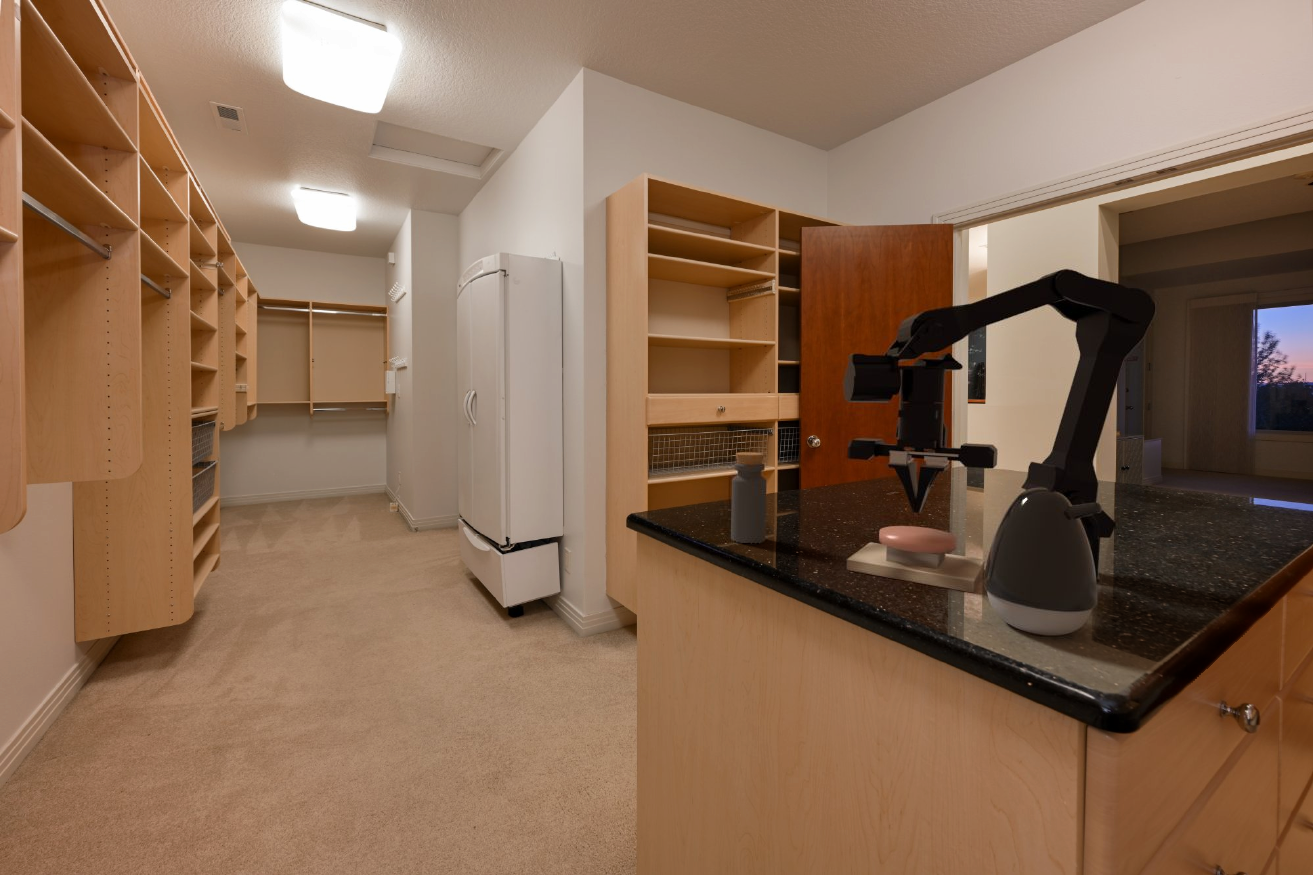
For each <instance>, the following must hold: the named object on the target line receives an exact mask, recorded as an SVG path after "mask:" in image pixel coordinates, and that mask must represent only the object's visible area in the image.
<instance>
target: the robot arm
mask: <svg viewBox="0 0 1313 875" xmlns="http://www.w3.org/2000/svg"><path fill="white" fill-rule="evenodd" d="M1046 305H1047V306H1049V307H1051V308H1053V309H1054V310H1055V311H1056V312H1057V313H1059V315H1061V317H1063V318H1064V319H1066V320H1069V321H1071V322H1073V323H1075V324H1076V326H1075V332H1074V333H1075V335H1074V337H1075V339H1076V343H1077V347H1078V351H1079V358H1078V362H1077V365H1076V369H1075V373H1074V376H1073V380H1072V383H1071V386H1070V390H1069V392H1068V396H1067V399H1066V403H1065V406H1064V409H1063V413H1062V416H1061V419H1060V423H1059V426H1058V430H1057V432H1056V436H1055V439H1054V443H1053V446H1052V448H1051V452H1050V454H1048V456H1047V457H1046V458H1045V459H1044V460H1043V461H1042V463H1040V462H1035V461H1031V462H1030V463H1029V465H1028V468H1027V476H1026V479H1025V481H1024V483H1023V484H1022V486H1021V489H1023V490H1024V491H1026V490H1029V489H1033V488H1049V489H1052V490H1055V491H1057V492H1059V493H1061V494H1063V495H1064V496H1065V497H1066V498H1067V499H1068V500H1069V501H1070V503H1071V504H1072V506H1073V505H1080V504H1088V503H1095V502H1097V501H1098V493H1099V481H1098V477H1097V473H1096V470H1095V466H1094V459H1095V456H1096V452H1097V449H1098V446H1099V443H1100V442H1099V441H1100V439H1101V437H1102V432H1103V430H1104V426H1105V423H1106V419H1107V416H1108V413H1109V410H1110V407H1111V404H1112V399H1113V396H1114V393H1115V390H1116V387H1117V384H1118V380H1119V378H1120V374H1121V370H1122V367H1123V365H1124V364H1123V363H1124V361H1125V359H1126V358H1127V356H1128V355H1130V354H1131V353H1132V352H1133V350H1134V349H1135V348H1136V347H1137V346H1138V345H1139V344H1140V343H1141V342H1142V341H1143V340H1144V338H1145V336H1146V335H1147V332H1148V330H1149V328H1150V326H1151V324H1152V322H1153V320H1154V319H1155V316H1156V312H1157V303H1156V301H1154V300H1153V298H1152V297H1151V295H1150V294H1149V293H1148V292H1146V291H1145V290H1143V289H1141V288H1136V287H1135V288H1134V287H1126V286H1124V285H1122V284H1120V283H1117V282H1115V281H1113V282H1112V281H1110V280H1104V279H1100V278H1095V277H1092V276H1088V275H1086V274H1083V273H1081V272H1080V271H1077V270H1074V269H1069V268H1065V269H1060V270H1056V271H1055V272H1054V271H1053V272H1051V273H1048V274H1045V275H1043V276H1041V277H1040V278H1039V279H1037V280H1034V281H1030V282H1028V283H1025V284H1023V285H1019V286H1017V287H1014V288H1012V289H1008V290H1005V291H1002V292H1000V293H997V294H994V295H992V296H989V297H986V298H983V299H982V298H981V299H979V300H978V301H974V302H972V303H971V302H970V303H966V304H965V303H964V304H960V305H959V304H958V305H951V306H946V307H939V308H933V309H929V310H926V311H922V312H920V313H917V314H913V315H911V316H910V317H907V318H905V319H904V320H902V322H901V323H900V325H899V327H898V329H897V335H896V339H895V340H894V341H893V343H892V344H891V345H890V347H889V348H888V349H887V350H886V351H885V352H884V354H865V353H851V354H850V355H849V356H848V363H847V367H846V369H845V376H844V377H843V384H842V386H843V389H842V390H843V395H844V396H843V397H844V399H845V401H846V402H847V403H890V402H891V401H892V399H893V397H894V396H898V394H899V402H898V404H899V406H898V411H897V417H898V420H897V424H896V430H895V438H896V444H893V443H892V444H890V443H889V444H888V443H885V441H884V440H885V439H883V438H868V437H867V438H864V437H859V438H855V439H851V441H849V442H848V444H847V449H846V452H847V453H846V455H847V456H846V457H847V458H846V459H850V460H861V461H863V460H864V461H868V460H870V459H872V458H873V457H876V458H877V457H878V458H879V457H889V463H887V468H888V469H889V468H890V469H894V470H895V473H896V474H897V476H898V478H899V480H900V482H901V484H902V487H903V489H904V491H905V494H906V497H907V499H908V502H909V505H910V508H911V511H912V512H913V513H914V514H920V513H921V511H922V509H923V507H924V504H925V502H926V500H927V496H928V495H929V492H930V490H931V488H932V485H933V483H934V482H935V479H936V478H937V476H939V473H940V472H945V471H947V470H949V469H950V466H951V464H950V463H949V462H950V461H954V462H960V463H961V464H962V465H963V466H964V468H974V469H975V468H977V469H995V467H997V465H998V448H997V447H996V446H995V445H994V444H986V443H966V442H965V443H963V444H961V445H960V447H948V446H947V445H948V444H947V442H948V435H949V434H948V432H949V429H948V428H947V425H946V423H945V420H944V416H945V414H944V413H945V394H946V393H945V392H946V391H945V389H946V388H945V387H946V372H949V371H950V372H951V371H960V370H962V369H963V367H964V366H963V364H961V363H960V362H959V361H958V360H957V359H955V358H954V356H952V353H950V352H947V353H943V354H941V355H940V356H939V357H938V358H919V357H921V356H922V355H927V354H933V353H938V352H941V351H943V350H946V349H947V348H949V347H950V346H952V345H954V344H956V343H958V342H961V341H962V340H963V339H965V338H966V337H968V336H970V335H971V334H973V333H974V332H976V331H977V330H979V329H981V328H984V327H986V326H990V325H992V324H995V323H998V322H1001V321H1004V320H1007V319H1010V318H1013V317H1016V316H1019V315H1021V314H1024V313H1027V312H1029V311H1032V310H1036V309H1039V308H1041V307H1044V306H1046ZM910 360H911V361H912V360H915V362H914V363H913V365H899V362H905V361H910ZM907 448H908V449H907ZM909 448H910V449H909ZM915 459H920V460H921V459H923V460H924V462H925V464H923V465H921V466H920V467H919V475H918V476H917V470H918V461H914V460H915ZM1097 503H1098V502H1097ZM1080 520H1081V522H1082V525H1083V527H1084V530H1085V532H1086V535H1087V538H1088V541H1089V544H1090V548H1091V552H1092V556H1093V561H1094V566H1095V573H1096V582H1097V583H1100V580H1101V579H1100V574H1099V566H1100V548H1101V539H1104V538H1105V539H1106V538H1107V539H1109V538H1110V539H1111V537H1112V534H1113V533H1114V530H1115V528H1116V526H1117V524H1116V522H1115V521H1114V519H1113V518H1111V517H1110V515H1108V514H1107V512H1105V511H1104V510H1103V509H1102V511H1101V512H1100V513H1095V514H1093V515H1089V516H1086V517H1082V518H1080Z"/></svg>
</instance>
